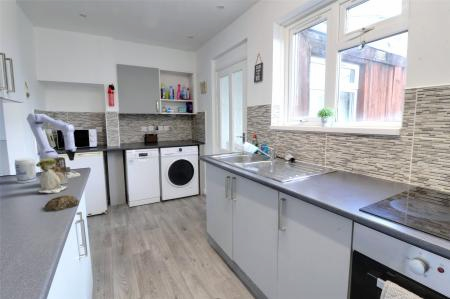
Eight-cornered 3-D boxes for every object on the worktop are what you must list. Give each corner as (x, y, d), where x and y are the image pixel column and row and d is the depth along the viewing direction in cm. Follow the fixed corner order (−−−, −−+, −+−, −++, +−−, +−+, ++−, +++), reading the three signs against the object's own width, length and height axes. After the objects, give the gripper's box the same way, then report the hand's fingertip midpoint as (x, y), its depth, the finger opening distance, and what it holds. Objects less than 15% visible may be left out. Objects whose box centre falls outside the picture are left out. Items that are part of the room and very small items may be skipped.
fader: (65, 172, 162) (65, 167, 162) (69, 171, 164) (68, 166, 164) (66, 172, 161) (66, 167, 160) (70, 171, 163) (69, 166, 162)
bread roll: (73, 199, 113) (71, 189, 112) (82, 205, 105) (81, 195, 104) (40, 207, 103) (39, 197, 102) (48, 214, 95) (46, 203, 95)
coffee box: (64, 181, 144) (61, 156, 142) (68, 183, 141) (65, 157, 138) (47, 185, 137) (43, 159, 135) (50, 186, 133) (47, 160, 131)
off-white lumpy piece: (47, 195, 118) (42, 161, 115) (32, 193, 123) (27, 159, 120) (70, 189, 129) (66, 157, 126) (55, 186, 134) (51, 156, 131)
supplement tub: (13, 184, 140) (10, 161, 138) (22, 180, 149) (19, 158, 147) (32, 182, 143) (29, 159, 140) (39, 178, 152) (36, 157, 149)
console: (50, 176, 158) (49, 171, 157) (71, 172, 168) (71, 167, 167) (57, 179, 148) (57, 174, 147) (80, 175, 158) (79, 170, 158)
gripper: (79, 141, 159) (81, 160, 161) (72, 140, 168) (74, 158, 170) (68, 142, 153) (70, 162, 155) (61, 141, 162) (63, 160, 164)
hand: (71, 160), depth 162 cm, fingers closed
